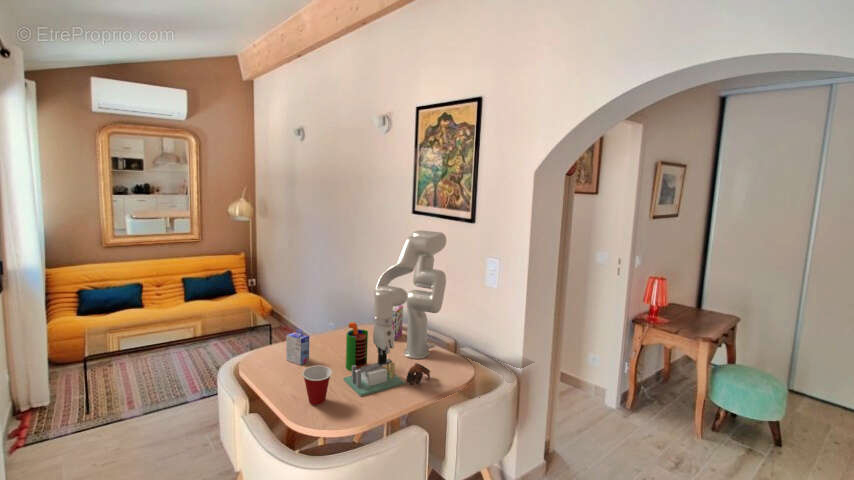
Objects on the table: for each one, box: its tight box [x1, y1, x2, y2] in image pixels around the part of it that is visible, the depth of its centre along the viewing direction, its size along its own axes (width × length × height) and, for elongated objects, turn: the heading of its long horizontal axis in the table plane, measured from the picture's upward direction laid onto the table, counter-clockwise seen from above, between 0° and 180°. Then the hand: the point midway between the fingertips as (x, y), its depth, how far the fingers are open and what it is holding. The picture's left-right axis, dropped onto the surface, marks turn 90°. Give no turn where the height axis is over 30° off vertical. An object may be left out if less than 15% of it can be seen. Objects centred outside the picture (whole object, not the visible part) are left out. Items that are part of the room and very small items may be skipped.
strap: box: [354, 358, 393, 373], centre depth 176 cm, size 16×3×1 cm, turn 125°
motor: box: [345, 321, 369, 372], centre depth 189 cm, size 10×9×20 cm
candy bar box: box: [392, 305, 404, 342], centre depth 226 cm, size 11×5×16 cm, turn 165°
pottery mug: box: [405, 362, 431, 386], centre depth 178 cm, size 12×10×8 cm
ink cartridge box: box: [285, 328, 310, 366], centre depth 194 cm, size 10×6×14 cm, turn 59°
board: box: [343, 357, 406, 397], centre depth 177 cm, size 20×16×8 cm
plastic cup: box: [301, 365, 333, 406], centre depth 159 cm, size 11×11×12 cm
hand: (382, 363), depth 178 cm, fingers closed
